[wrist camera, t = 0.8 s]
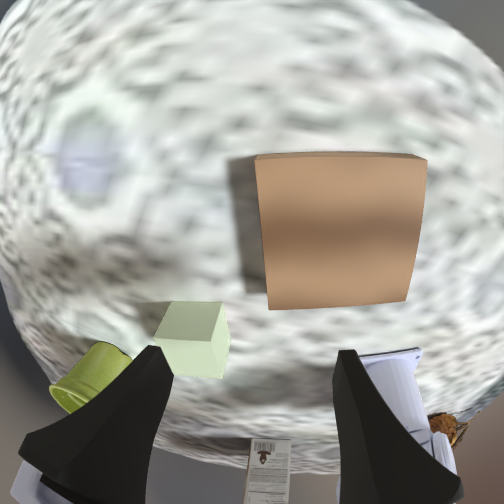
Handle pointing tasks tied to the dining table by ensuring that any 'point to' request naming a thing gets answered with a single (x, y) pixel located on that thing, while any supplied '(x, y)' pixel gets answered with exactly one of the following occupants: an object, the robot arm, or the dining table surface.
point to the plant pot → (89, 376)
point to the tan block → (339, 226)
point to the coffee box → (268, 472)
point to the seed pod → (449, 427)
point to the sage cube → (195, 338)
